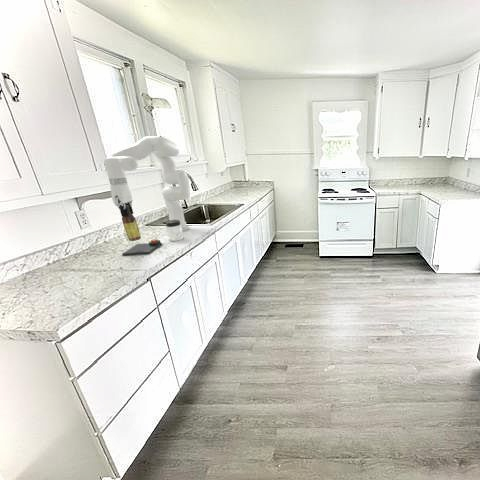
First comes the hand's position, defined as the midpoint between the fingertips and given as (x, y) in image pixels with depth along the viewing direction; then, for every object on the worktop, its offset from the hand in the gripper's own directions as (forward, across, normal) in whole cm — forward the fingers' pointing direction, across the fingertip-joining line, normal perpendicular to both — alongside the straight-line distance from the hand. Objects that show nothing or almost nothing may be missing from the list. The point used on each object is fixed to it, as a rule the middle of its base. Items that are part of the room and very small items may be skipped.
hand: (127, 214), depth 145 cm
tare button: (+19, -7, +7) cm, 22 cm away
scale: (+22, -2, +2) cm, 22 cm away
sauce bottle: (+15, 0, 0) cm, 15 cm away
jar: (+22, -20, +14) cm, 33 cm away
